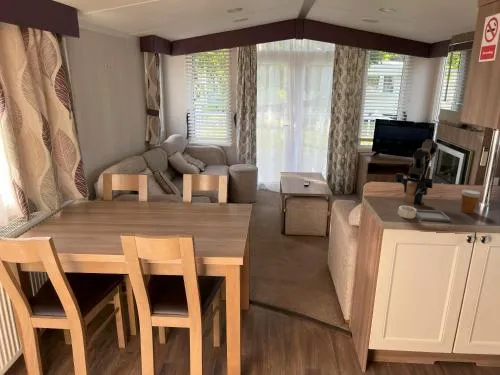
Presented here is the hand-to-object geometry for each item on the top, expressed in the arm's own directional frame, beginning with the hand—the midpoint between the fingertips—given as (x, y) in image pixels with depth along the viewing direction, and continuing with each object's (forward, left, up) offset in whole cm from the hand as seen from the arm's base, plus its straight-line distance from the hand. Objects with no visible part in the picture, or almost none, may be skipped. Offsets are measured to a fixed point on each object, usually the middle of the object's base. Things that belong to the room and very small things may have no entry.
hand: (409, 193), depth 199 cm
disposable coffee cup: (-34, +23, -13) cm, 43 cm away
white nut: (-1, 0, -13) cm, 13 cm away
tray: (-9, +10, -13) cm, 19 cm away
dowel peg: (-1, 0, -7) cm, 7 cm away
